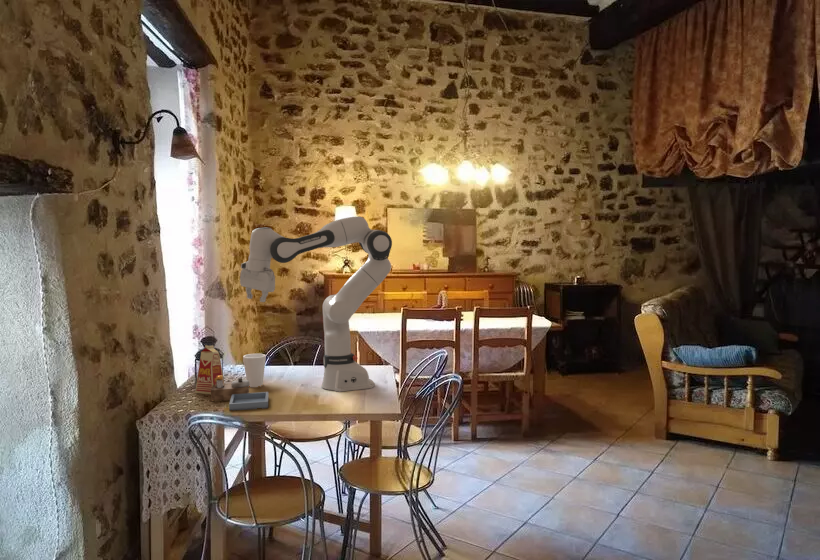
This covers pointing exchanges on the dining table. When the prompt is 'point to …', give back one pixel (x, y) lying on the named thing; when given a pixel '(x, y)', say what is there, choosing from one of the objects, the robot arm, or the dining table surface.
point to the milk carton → (208, 370)
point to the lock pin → (219, 381)
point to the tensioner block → (229, 389)
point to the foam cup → (254, 368)
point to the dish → (249, 401)
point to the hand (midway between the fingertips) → (255, 300)
